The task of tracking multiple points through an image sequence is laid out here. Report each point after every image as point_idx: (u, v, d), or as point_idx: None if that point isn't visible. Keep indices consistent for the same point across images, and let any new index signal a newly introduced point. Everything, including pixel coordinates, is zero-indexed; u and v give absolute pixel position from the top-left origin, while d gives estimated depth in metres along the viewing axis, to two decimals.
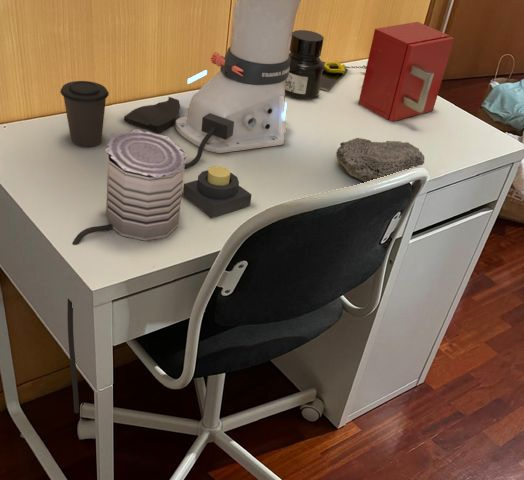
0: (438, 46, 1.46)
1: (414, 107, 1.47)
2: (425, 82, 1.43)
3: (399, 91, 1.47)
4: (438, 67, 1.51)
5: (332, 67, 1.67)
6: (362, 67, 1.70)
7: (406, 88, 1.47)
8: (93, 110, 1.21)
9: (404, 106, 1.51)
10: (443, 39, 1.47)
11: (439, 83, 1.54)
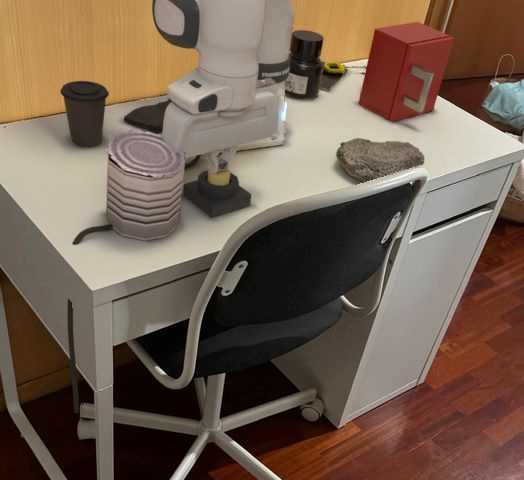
0: (438, 46, 1.46)
1: (414, 107, 1.47)
2: (425, 82, 1.43)
3: (399, 91, 1.47)
4: (438, 67, 1.51)
5: (332, 67, 1.67)
6: (362, 67, 1.70)
7: (406, 88, 1.47)
8: (93, 110, 1.21)
9: (404, 106, 1.51)
10: (443, 39, 1.47)
11: (439, 83, 1.54)
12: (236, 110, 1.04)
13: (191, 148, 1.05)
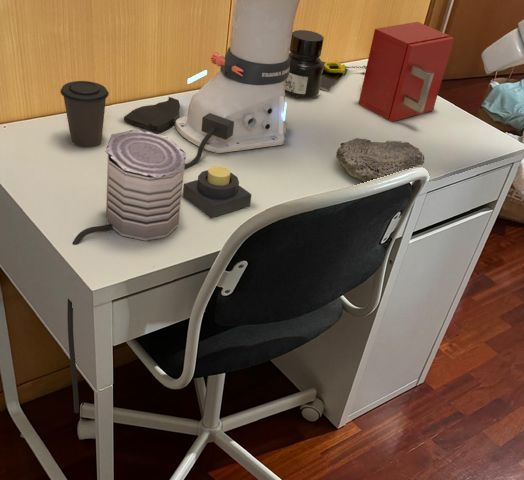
0: (438, 46, 1.46)
1: (414, 107, 1.47)
2: (425, 82, 1.43)
3: (399, 91, 1.47)
4: (438, 67, 1.51)
5: (332, 67, 1.67)
6: (362, 67, 1.70)
7: (406, 88, 1.47)
8: (93, 110, 1.21)
9: (404, 106, 1.51)
10: (443, 39, 1.47)
11: (439, 83, 1.54)
12: None
13: (501, 68, 1.23)
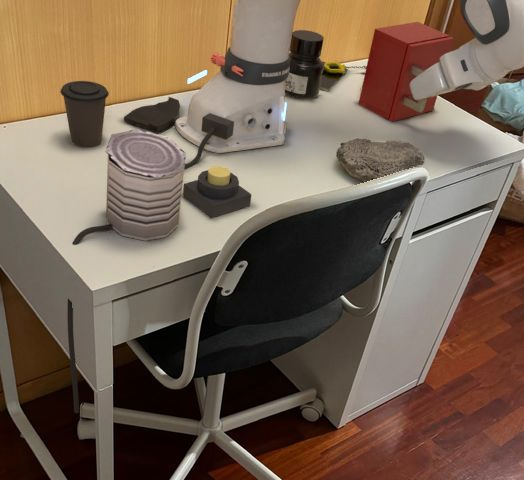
0: (438, 46, 1.46)
1: (414, 107, 1.47)
2: None
3: (399, 91, 1.47)
4: None
5: (332, 67, 1.67)
6: (362, 67, 1.70)
7: (406, 88, 1.47)
8: (93, 110, 1.21)
9: (404, 106, 1.51)
10: (443, 39, 1.47)
11: None
12: None
13: (427, 96, 1.36)
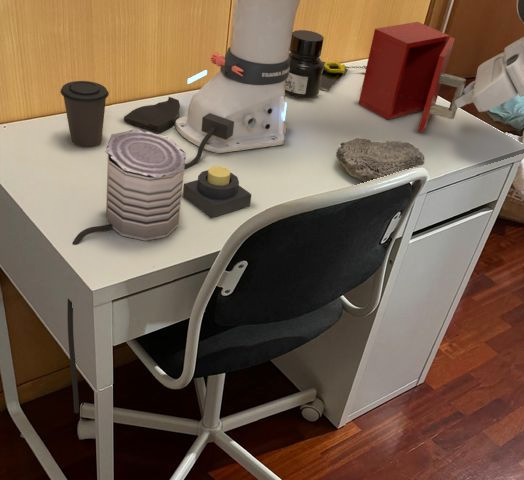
0: (449, 49, 1.46)
1: (446, 115, 1.46)
2: (459, 90, 1.42)
3: (430, 102, 1.44)
4: (444, 69, 1.50)
5: (332, 67, 1.67)
6: (362, 67, 1.70)
7: (433, 97, 1.45)
8: (93, 110, 1.21)
9: (428, 115, 1.49)
10: (450, 41, 1.46)
11: None
12: None
13: None
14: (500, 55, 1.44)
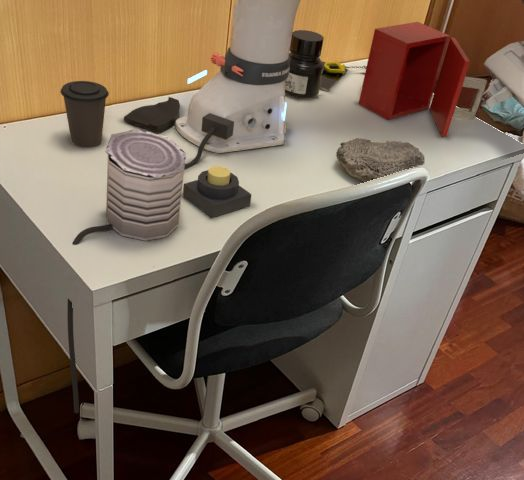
0: None
1: (468, 116, 1.47)
2: (482, 91, 1.43)
3: (454, 107, 1.44)
4: None
5: (332, 67, 1.67)
6: (362, 67, 1.70)
7: None
8: (93, 110, 1.21)
9: None
10: (456, 42, 1.46)
11: None
12: None
13: None
14: (508, 49, 1.47)
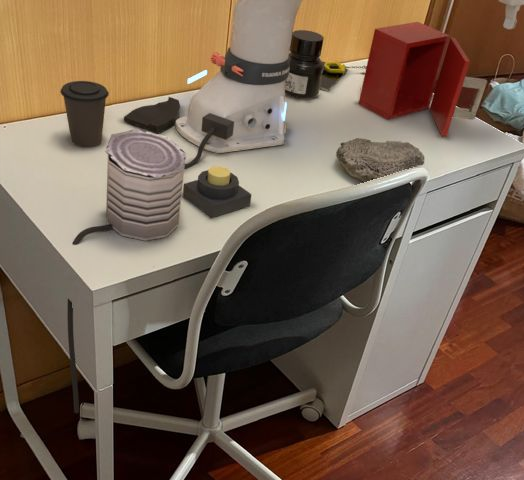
0: None
1: (468, 116, 1.47)
2: (482, 91, 1.43)
3: (454, 107, 1.44)
4: None
5: (332, 67, 1.67)
6: (362, 67, 1.70)
7: None
8: (93, 110, 1.21)
9: None
10: (456, 42, 1.46)
11: None
12: None
13: None
14: None
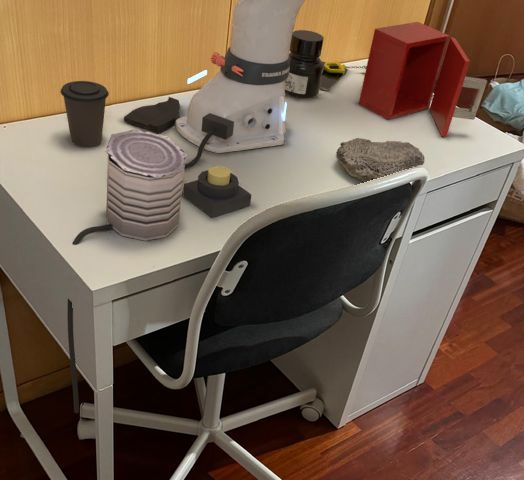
0: None
1: (468, 116, 1.47)
2: (482, 91, 1.43)
3: (454, 107, 1.44)
4: None
5: (332, 67, 1.67)
6: (362, 67, 1.70)
7: None
8: (93, 110, 1.21)
9: None
10: (456, 42, 1.46)
11: None
12: None
13: None
14: None
